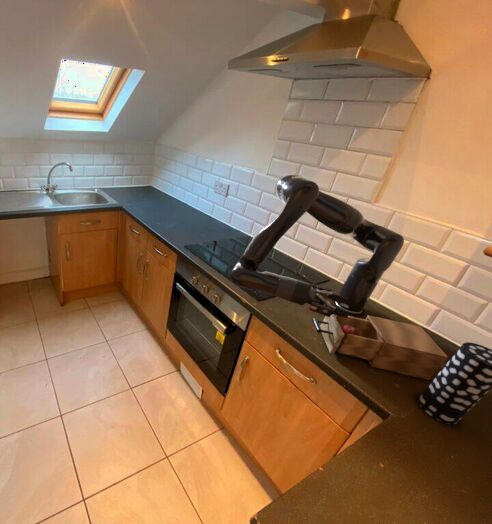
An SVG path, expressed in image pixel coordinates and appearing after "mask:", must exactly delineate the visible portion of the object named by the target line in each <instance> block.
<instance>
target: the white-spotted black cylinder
mask: <svg viewBox="0 0 492 524" xmlns="http://www.w3.org/2000/svg"><path fill="white" fill-rule="evenodd" d="M491 389H492V349H491V348H490V347H487V346H484V345H482V344H480V343H479V344H478V343H475V342H471V341H470V342H469V341H468V342H467V341H465V342H463V343H462V345H460V347H459V348H458V349H457V351H456V352H455V353H453V355H452V356H451V357H450V359H449V360H448V361H447V362H446V364H444V366H443V367H442V368H441V369H440V371H439V372H438V373H437V374H436V376H435V377H434V378H433V379H432V380H431V382H430V383H429V384H428V385H427V386H426V388H425V389H424V390H423V391H422V392H421V393H420V395H419V396H418V397H417V402H418V405H419V406H420V408H421V409H423V411H425V413H426V414H428V415H429V416H431V417H432V418H433V419H436V420H437V421H440V422H441V423H444V424H447V425H457V424H458V422H459V421H461V420H462V418H464V416H466V414H467V413H468V412H469V411H470V410H472V408H474V406H475V405H477V404H478V402H479V401H480V400H481V399H483V397H484V396H485V395H486V394H487V393H489V391H490V390H491Z"/></svg>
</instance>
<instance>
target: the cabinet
mask: <svg viewBox="0 0 492 524" xmlns="http://www.w3.org/2000/svg"><path fill="white" fill-rule="evenodd" d="M364 319H365V320H369V321H370V323H371V324H372V326H373V327H374V329H375V330H376V332H377V333H378V335H379V336H380V338H381V339H382V341H383V342H384V344H383V346H382V347H381V349H380V350H379V352H378V353H377V355H376V356H375V358H374V360H373V361H372V360H367V362H368V364H369V365H370V366H371V367H372V368H377V369H380V370H384V371H388V372H392V373H398V374H402V375H406V376H410V377H414V378H418V379H422V380H426V381H430V379H431V378H432V377H433V376H434V374H436V372H437V371H438V370H439V369H440V367H442V365H443V364H444V362H445V361H446V360H447V359H448V355H447V354H446V353H445V352H444V350H442V348H440V346H439V345H438V344H437V343H436V342H435V341H434V340H433V338H432V337H431V336H430V335H429V334H428V332H427V331H425V329H424V328H423V327H422V326H420V325H416V324H411V323H406V322H402V321H397V320H392V319H388V318H383V317H378V316H373V315H370V314H369V315H367V316H366V317H365V318H364Z"/></svg>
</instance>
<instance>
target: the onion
mask: <svg viewBox="0 0 492 524" xmlns="http://www.w3.org/2000/svg"><path fill="white" fill-rule="evenodd" d="M341 329H342V331H343V333H344V337H343V339H342V341H341V342H343V340H344V339H345V337H346V335H347V333H348V334H352V335H357V336H360V333H359V331H358V330H357V329H356V328H355V327H353V326H342V327H341Z"/></svg>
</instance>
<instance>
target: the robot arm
mask: <svg viewBox="0 0 492 524" xmlns="http://www.w3.org/2000/svg"><path fill="white" fill-rule="evenodd" d="M275 187H276V188H275V192H276V195H277V198H278V200H279V201H281V202H282V203H283V204H284V207H283V209H282V210H281V212H280V214H278V216H277V217H275V219H273V220H272V221H271V222H270V223H269V224H267V225H266V226H264V227H263V228H261V229H260V230H259V231H258V232H257V233H256V234H255V235H254V236H253V238H252V239H251V241H250V242H249V244H247V246H246V249H245V250H244V253H243V254H242V256H241V257H240V258H239V260H238V261H237V262H236V264H234V265H235V266H234V267H233V268H232V269H231V271H230V272H229V279H230V281H231V283H232V284H234V285H235V286H237V287H239V288H242V289H247V290H252V291H260V292H263V293H266V294H269V295H272V296H274V297H277V298H279V299H282V300H285V301H287V302H291V303H293V304H296V305H299V306H304V305H305V304H307V305H309V308H308V310H309V311H311V312H313V313H316V314H319V315H321V316H324V317H325V316H327V317H330V316H331V315H332V314H334V315H335V316H336V315H338V316H341V317H344V318H347V317H348V316H350V314H351V315H360V314H362V312H363V310H364V308H365V307H366V305H367V303H368V302H369V300H370V298H371V296H372V294H373V292H374V291H375V289H376V287H377V285H378V284H379V282H380V280H381V278H382V277H383V275H384V273H385V272H386V271H387V270H388V269H389V268H390V267H391V266H392V264H393V263H394V261H395V260H396V258H397V257H398V255H399V253H401V250H402V249H403V247H404V244H405V238H404V236H403V235H402V234H400V233H398V232H397V231H395V230H392V229H389V228H387V227H385V226H382V225H380V224H377V223H374V222H372V221H369V220H367V219H366V218H365V217H364V215H363V214H362V212H361V211H360V210H359V209H357V208H355V207H354V206H352V205H351V204H349V203H348V202H345V201H344V200H342V199H340V198H337V197H335V196H334V195H331V194H328V193H326V192H323V191H321V190H320V186H319V185H318V184H317V183H316V182H315V181H314V180H311V179H310V178H307V177H306V176H303V175H301V174H297V173H294V174H293V173H292V174H291V173H290V174H287V175H285V176H283V177H282V178H281V179H279V180H278V182H277V184H276V186H275ZM305 214H308V215H310V216H311V217H312V218H313V219H315V220H316V221H317V222H318V223H320V224H322V225H323V226H324V227H326V228H328V229H330V230H331V231H333V232H335V233H337V234H339V235H343V236H348V237H350V238H352V239H353V240H354V241H356V242H357V243H358V244H359V245H360V246H361V247H362V248H364V249H366V250H367V251H369V252H371V253H372V255H371V256H370V258H366V257H360V258H356V260H355V261H354V263H353V265H352V267H351V269H350V271H349V273H348V275H347V278H346V280H344V282H343V284H342V286H341V288H340V289H339V291H338V294H336V293H335V292H334V291H333V289H332V288H330V287H329V288H328V287H325V286H322V285H318V284H316V283H312V285H311V283H309V282H305V281H303V280H299V279H297V278H293V277H289V276H285V275H281V274H277V273H274V272H270V271H262V272H261V271H257V270H258V269H259V267H260V265H261V264H262V263H264V261H266V259H267V258H268V257H269V255H270V253H272V250H273V249H274V248H275V246H276V245H277V244H278V243H279V241H280V240H281V239H282V237H284V236H285V234H286V233H287V232H288V231H290V229H291V228H293V226H294V225H295V224H296V223H297V222H298V221H299V220H300V219H301V218H302V217H303V216H304V215H305ZM330 301H333V302H334V305H335V306H334V305H333V304H331V302H330Z"/></svg>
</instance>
